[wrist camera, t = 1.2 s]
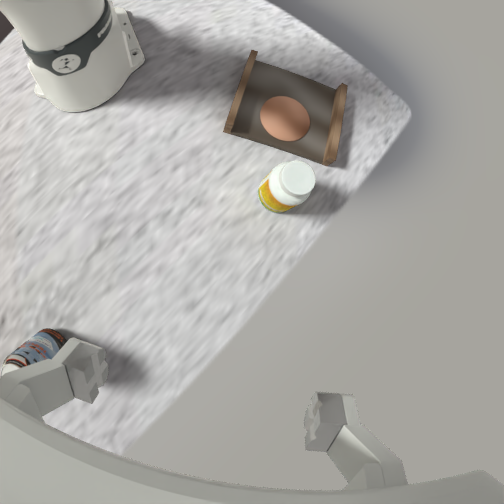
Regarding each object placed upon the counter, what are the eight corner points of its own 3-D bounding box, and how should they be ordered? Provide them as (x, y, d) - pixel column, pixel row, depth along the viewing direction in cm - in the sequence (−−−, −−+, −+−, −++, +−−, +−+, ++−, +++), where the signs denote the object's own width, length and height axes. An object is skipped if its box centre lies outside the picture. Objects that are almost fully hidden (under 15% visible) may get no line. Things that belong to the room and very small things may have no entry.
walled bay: (327, 166, 45) (335, 160, 42) (223, 131, 42) (225, 123, 39) (339, 93, 46) (347, 85, 43) (247, 60, 43) (251, 49, 40)
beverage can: (75, 332, 37) (38, 355, 25) (72, 380, 36) (40, 415, 24) (37, 321, 35) (-6, 339, 24) (36, 368, 35) (-3, 397, 23)
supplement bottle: (264, 169, 43) (285, 146, 33) (299, 185, 44) (327, 166, 34) (251, 204, 42) (269, 188, 33) (286, 219, 43) (313, 208, 34)
